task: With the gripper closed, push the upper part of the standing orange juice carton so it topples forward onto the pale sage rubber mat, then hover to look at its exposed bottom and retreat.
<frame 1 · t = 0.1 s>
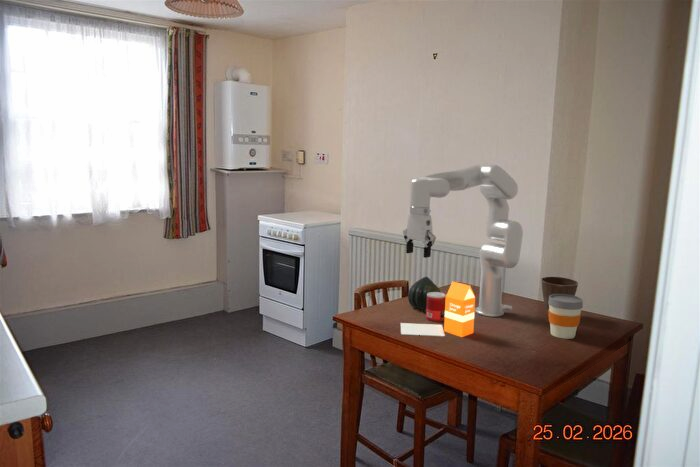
hand: (418, 254, 200), 31 cm above the table, tool pointing down, fingers open, 9 cm apart
plant pot: (556, 316, 227), on the table
reusable coffee cup: (562, 335, 204), on the table
squash: (423, 308, 236), on the table
orange juice: (458, 332, 205), on the table
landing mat: (421, 329, 207), on the table
canned food: (435, 319, 221), on the table
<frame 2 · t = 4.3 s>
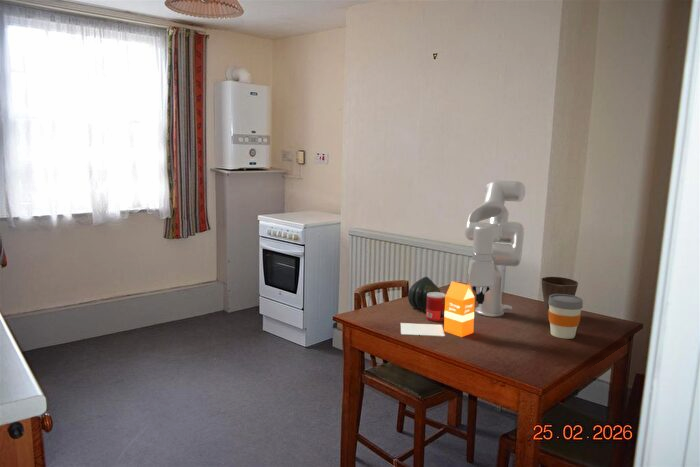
hand: (479, 303, 202), 12 cm above the table, tool pointing down, fingers closed
orange juice: (458, 332, 205), on the table, touching gripper
everything else where it was.
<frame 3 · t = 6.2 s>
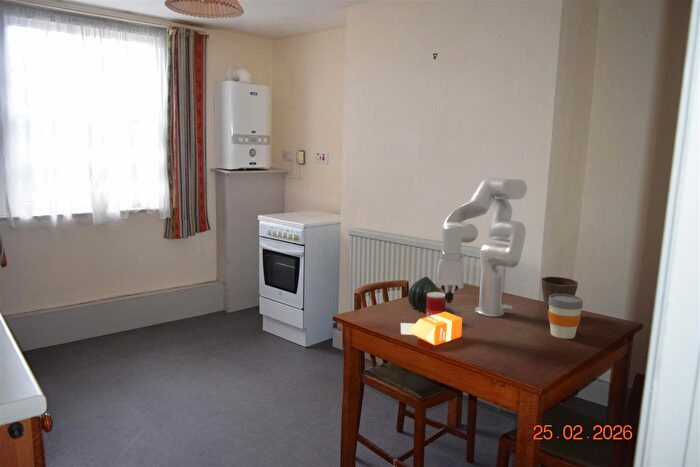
hand: (448, 302, 204), 12 cm above the table, tool pointing down, fingers closed
orange juice: (453, 323, 202), point 4 cm above the table, touching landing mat
everything else where it was.
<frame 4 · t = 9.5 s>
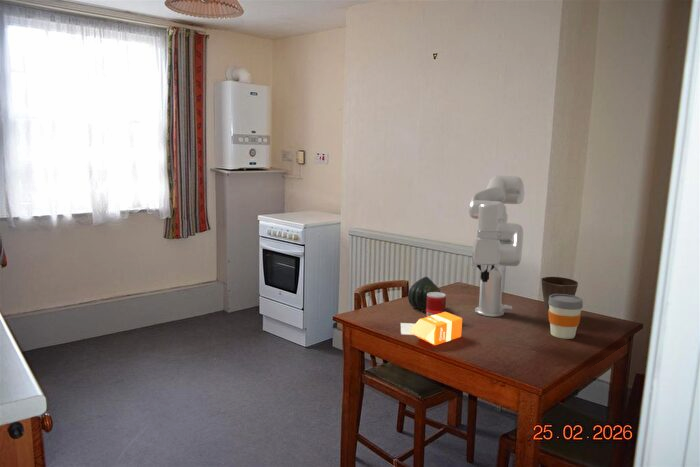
hand: (484, 281, 201), 21 cm above the table, tool pointing down, fingers closed
nothing on the table moved.
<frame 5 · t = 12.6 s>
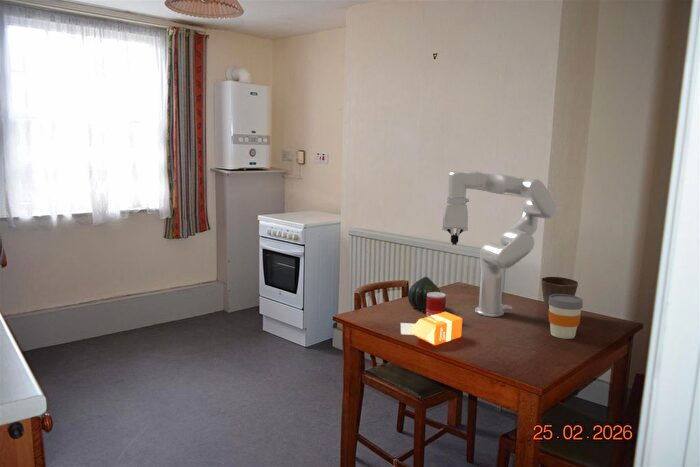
hand: (454, 244, 219), 32 cm above the table, tool pointing down, fingers closed
nothing on the table moved.
at the end: orange juice tilted 91°; orange juice inside the target area (6.1 cm from its centre), point 4.3 cm above the table; orange juice touching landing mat, table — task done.
